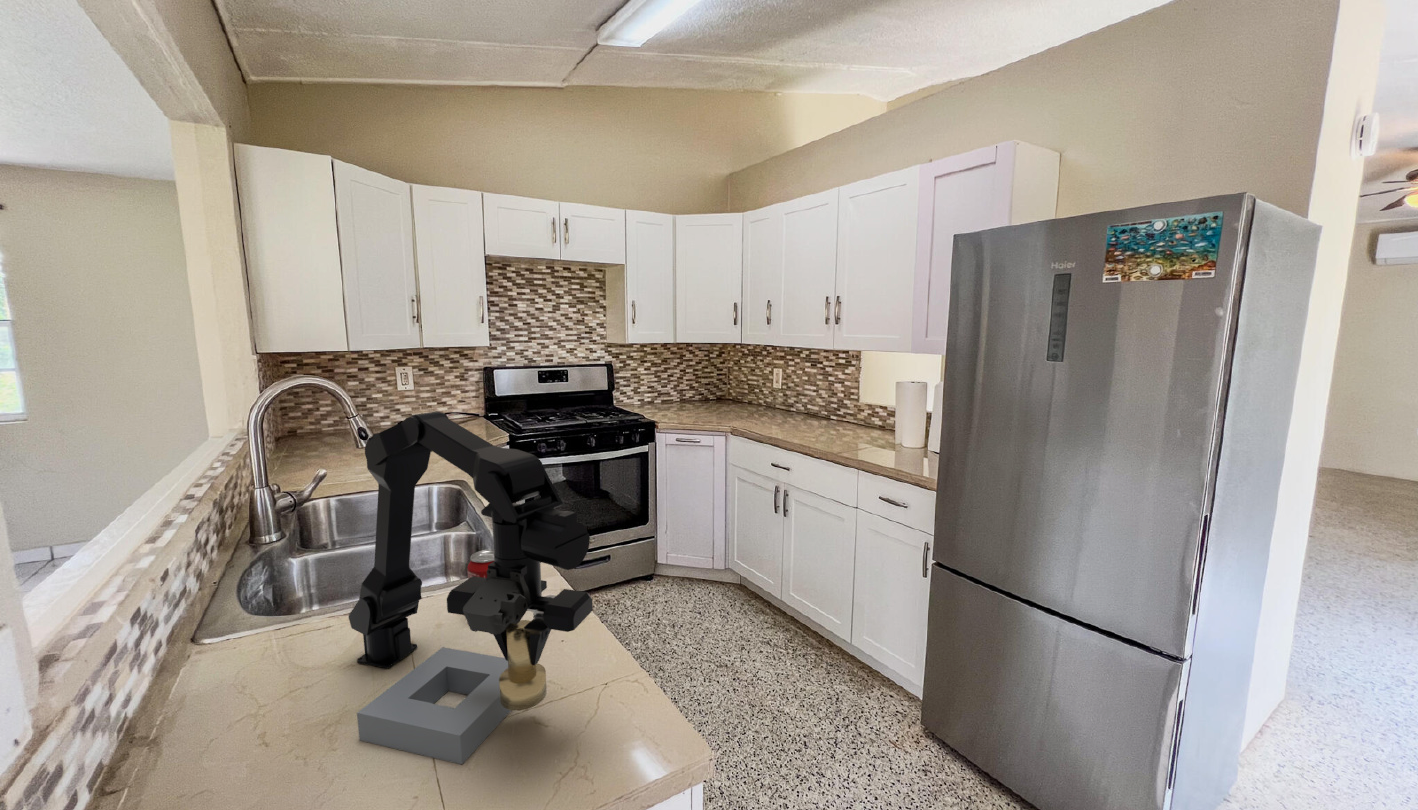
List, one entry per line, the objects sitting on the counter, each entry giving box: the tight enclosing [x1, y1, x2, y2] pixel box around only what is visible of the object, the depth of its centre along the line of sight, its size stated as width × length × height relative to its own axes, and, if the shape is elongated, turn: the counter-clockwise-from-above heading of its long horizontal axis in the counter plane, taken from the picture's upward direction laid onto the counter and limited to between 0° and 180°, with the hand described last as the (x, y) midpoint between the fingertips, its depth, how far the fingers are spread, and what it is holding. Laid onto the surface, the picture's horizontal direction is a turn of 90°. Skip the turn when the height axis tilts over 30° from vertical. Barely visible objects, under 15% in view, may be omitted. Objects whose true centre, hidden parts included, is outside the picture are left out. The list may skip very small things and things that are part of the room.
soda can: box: [467, 548, 494, 580], centre depth 108 cm, size 7×7×12 cm
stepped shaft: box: [499, 619, 547, 711], centre depth 77 cm, size 6×6×10 cm
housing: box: [356, 646, 512, 765], centre depth 81 cm, size 16×16×4 cm
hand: (522, 661), depth 77 cm, fingers closed on stepped shaft, 4 cm apart
